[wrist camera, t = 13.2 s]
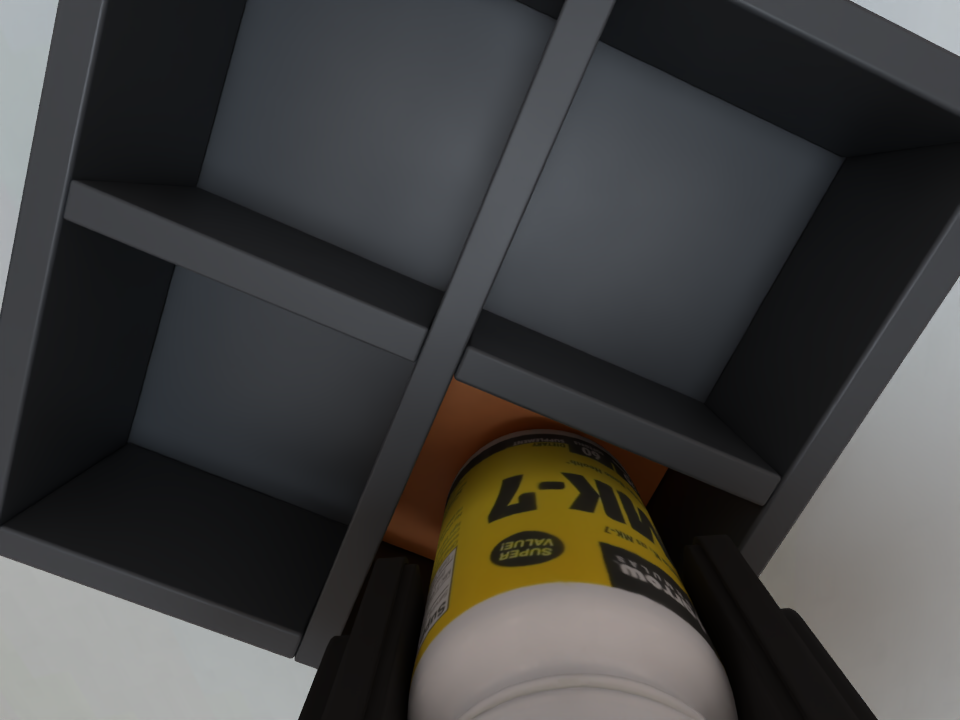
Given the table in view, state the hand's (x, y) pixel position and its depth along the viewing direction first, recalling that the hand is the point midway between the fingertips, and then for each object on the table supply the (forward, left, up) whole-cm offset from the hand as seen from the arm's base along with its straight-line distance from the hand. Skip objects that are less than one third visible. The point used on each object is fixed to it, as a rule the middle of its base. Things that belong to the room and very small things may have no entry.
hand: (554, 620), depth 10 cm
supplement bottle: (0, 0, -4) cm, 4 cm away
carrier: (+2, -5, -5) cm, 7 cm away
